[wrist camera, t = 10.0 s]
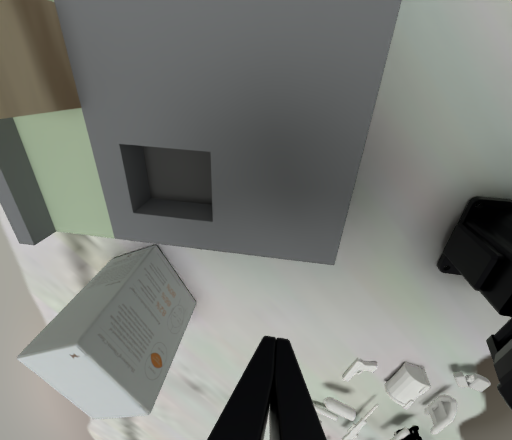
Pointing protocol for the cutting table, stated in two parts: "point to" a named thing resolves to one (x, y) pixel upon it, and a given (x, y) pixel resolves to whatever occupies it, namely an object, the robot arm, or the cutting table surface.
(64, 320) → the small box
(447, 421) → the miniature set
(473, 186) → the cutting table surface
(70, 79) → the maple block
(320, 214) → the board
